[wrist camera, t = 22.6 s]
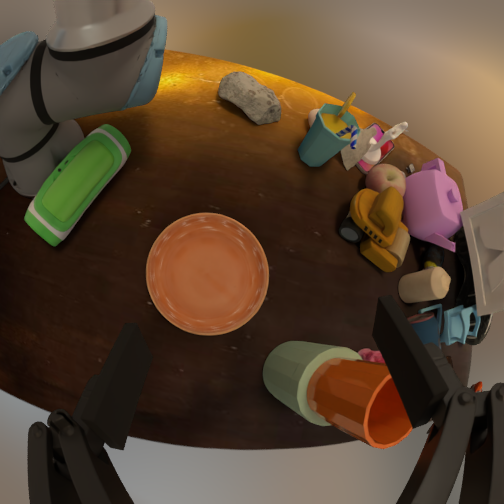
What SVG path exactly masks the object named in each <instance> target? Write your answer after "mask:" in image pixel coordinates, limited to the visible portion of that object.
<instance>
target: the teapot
mask: <svg viewBox="0 0 504 504" xmlns="http://www.w3.org/2000/svg"><path fill="white" fill-rule="evenodd" d="M405 180H406V190H405V193H404V196H403V202H404V207H403V211H402V216H403V219H402V220H401V222H402V223H403V224H404V225H405V226H406V227H407V228H408V234H410V235H411V236H413V237H416V238H418V239H421V240H424V241H427V242H431V243H434V244H436V245H439V246H441V247H443V248H446V249H448V250H450V251H453V252H455V243H454V242H451V241H449V240H447V239H448V238H450V237H451V236H452V235H454V234H455V233H456V232H457V231H458V230H459V229H460V228H461V227H462V226H463V222H462V219H461V215H460V212H462V211H463V207H462V201H461V197H460V193H459V189H458V187H457V184H456V182H455V181H454V180H452V179H451V178H450V177H448V176H447V175H446V171H445V166H444V162H443V161H442V160H440V159H439V158H436V159H434V160H432V161H429V162H427V163H425V164H423V165H422V169H421V171H420V172H417V173H414V174H412V175H410V176H408V177H407V178H406V179H405Z"/></svg>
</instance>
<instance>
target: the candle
mask: <svg viewBox="0 0 504 504" xmlns="http://www.w3.org/2000/svg"><path fill="white" fill-rule="evenodd" d="M450 281H451V278H450V276H449V275H448V274H447V273H446V272H445V270H444V269H443V268H441V267H434V268H430V269H427V270H423V271H419V272H415V273H411V274H407V275H404V276H403V277H402V278H401V279H400V281H399V285H398V291H399V295H400V297H401V299H402V300H403V301H404V302H406V303H414V302H421V301H428V300H435V299H442V298H444V297H445V296H446V294H447V292H448V290H449V284H450Z"/></svg>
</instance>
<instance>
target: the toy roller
mask: <svg viewBox="0 0 504 504" xmlns="http://www.w3.org/2000/svg"><path fill="white" fill-rule="evenodd" d="M403 207H404V202H403V198H402V196H401V194H400V193H399V191H398V190H396V189H395V188H394V187H392V186H390V187H388V188H387V189H385V190H384V191H383V192H381V193H380V194H379V193H378V192H377V191H376V192H375V191H373V190H371V189H367V188H366V189H362V190H361V191H359V192H358V193H357V194H355V195H354V197H353V198H352V200H351V204H350V211H349V214H348V216H347V218H346V219H344V220H343V222H342V224H341V226H340V228H339V234H340V235H341V236H342V238H344V239H345V240H347V241H350V242H358V241H360V240H361V238H362V235H363V233H364V232H365V233H364V236H363V238H362V240H361V243H360V252H361V254H363V255H364V256H365V257H366V258H368V259H369V260H370V261H371V262H373V263H374V264H375V265H376V266H378V267H379V268H380V269H381V270H383V271H385V272H392V271H394V270H395V269H396V268H397V267H400V266H401V265H402V262H403V260H404V257H405V254H406V251H407V248H408V245H409V242H410V236H409V234H408V228H407V227H406V226H405V225H404V224H403V223H402V222H401V214H402V211H403Z"/></svg>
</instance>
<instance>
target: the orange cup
mask: <svg viewBox="0 0 504 504" xmlns="http://www.w3.org/2000/svg"><path fill="white" fill-rule="evenodd" d="M307 402H308V405H309V407H310V409H311V410H312V411H313V412H314V413H315V414H316V415H317V416H318V417H320V418H321V419H323V420H325V421H326V422H328V423H330V424H331V425H333V426H335V427H337V428H338V429H340V430H342V431H344V432H346V433H347V434H349V435H351V436H353V437H355V438H357V439H358V440H360V441H362V442H364V443H366V444H368V445H370V446H372V447H375V448H380V449H385V448H388V447H391V446H394V445H396V444H398V443H399V442H400V441H402V440H403V439H404V438H406V437H407V436H408V434H409V433H410V432H411V431H412V429H413V428H412V425H411V423H410V420H409V418H408V415H407V413H406V410H405V408H404V405H403V403H402V400H401V398H400V396H399V393H398V391H397V388H396V386H395V384H394V381H393V379H392V377H391V375H390V372H389V370H388V368H387V366H386V364H385V363H378V362H372V361H365V360H359V359H353V358H344V357H336V358H332V359H330V360H328V361H326V362H324V363H323V364H321V365H320V366H319V367H318V368H317V369H316V370H315V372H314V373H313V375H312V376H311V378H310V381H309V383H308V387H307Z"/></svg>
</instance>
